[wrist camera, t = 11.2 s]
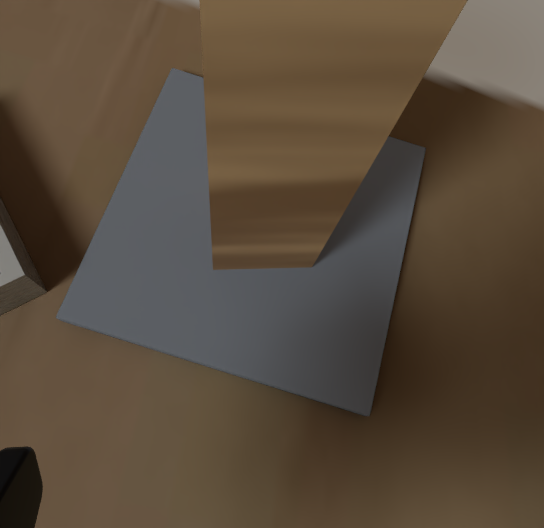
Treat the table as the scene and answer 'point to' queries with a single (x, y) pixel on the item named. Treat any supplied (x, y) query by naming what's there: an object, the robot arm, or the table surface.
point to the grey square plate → (244, 282)
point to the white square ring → (15, 267)
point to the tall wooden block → (303, 113)
